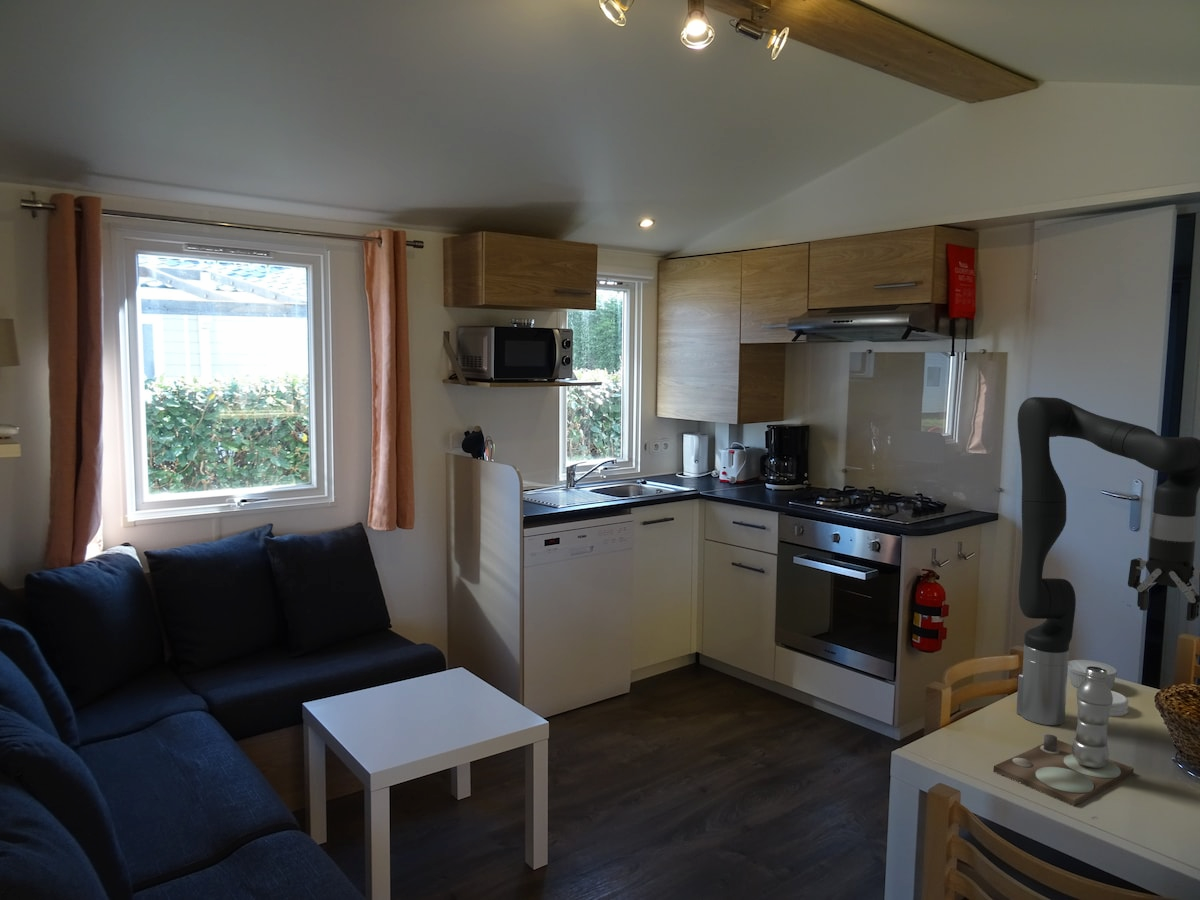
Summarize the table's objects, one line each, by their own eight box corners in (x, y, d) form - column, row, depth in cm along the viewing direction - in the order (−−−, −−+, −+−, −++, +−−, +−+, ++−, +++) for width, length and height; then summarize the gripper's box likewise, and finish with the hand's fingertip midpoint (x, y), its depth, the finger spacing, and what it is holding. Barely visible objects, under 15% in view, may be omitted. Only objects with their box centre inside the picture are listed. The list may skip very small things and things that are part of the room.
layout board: (993, 771, 169) (994, 751, 169) (1054, 744, 182) (1055, 725, 181) (1073, 806, 156) (1075, 784, 156) (1133, 773, 169) (1134, 753, 168)
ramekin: (1055, 682, 218) (1057, 663, 217) (1082, 675, 223) (1083, 656, 222) (1098, 697, 208) (1099, 677, 207) (1125, 690, 213) (1126, 670, 212)
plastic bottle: (1111, 764, 169) (1119, 669, 167) (1103, 775, 164) (1111, 678, 163) (1075, 753, 174) (1082, 661, 172) (1067, 764, 169) (1074, 669, 167)
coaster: (1103, 699, 207) (1104, 685, 207) (1137, 715, 198) (1138, 701, 197) (1069, 703, 205) (1070, 689, 205) (1103, 719, 195) (1104, 704, 195)
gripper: (1221, 540, 163) (1215, 620, 165) (1142, 528, 175) (1137, 603, 177) (1204, 544, 159) (1198, 627, 161) (1125, 532, 171) (1120, 609, 173)
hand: (1166, 614), depth 169 cm, fingers open, 8 cm apart
